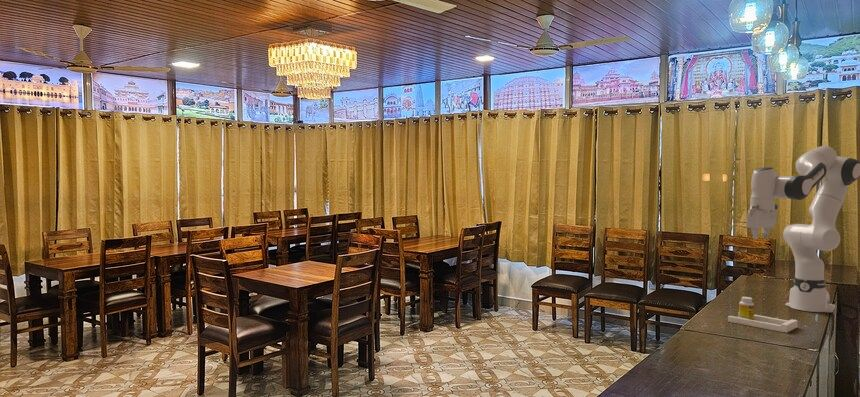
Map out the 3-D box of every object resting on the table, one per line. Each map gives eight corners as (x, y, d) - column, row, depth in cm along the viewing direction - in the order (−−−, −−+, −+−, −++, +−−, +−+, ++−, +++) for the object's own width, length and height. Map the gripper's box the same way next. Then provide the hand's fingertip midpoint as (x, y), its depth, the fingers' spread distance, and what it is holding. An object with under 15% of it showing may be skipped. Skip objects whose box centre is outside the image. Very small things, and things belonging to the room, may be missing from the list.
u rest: (739, 316, 245) (739, 310, 245) (797, 327, 228) (797, 320, 228) (727, 321, 237) (727, 314, 237) (786, 332, 220) (786, 325, 220)
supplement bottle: (749, 324, 233) (750, 299, 233) (736, 321, 238) (736, 297, 238) (756, 322, 236) (757, 298, 236) (743, 319, 241) (743, 295, 241)
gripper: (759, 205, 228) (757, 239, 228) (780, 206, 241) (778, 238, 241) (743, 205, 233) (741, 238, 233) (764, 205, 246) (762, 236, 246)
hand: (760, 238), depth 237 cm, fingers open, 8 cm apart
